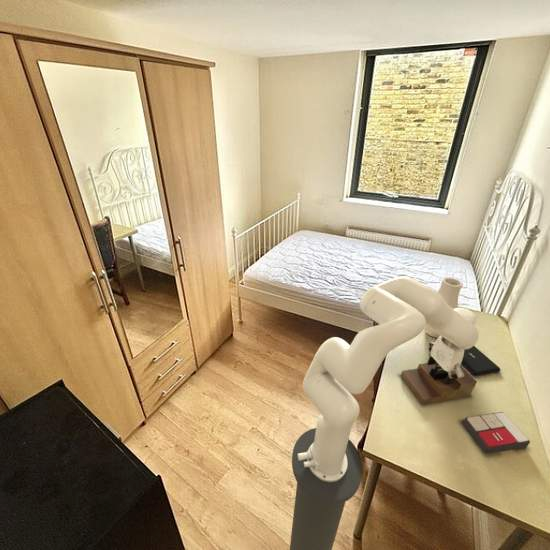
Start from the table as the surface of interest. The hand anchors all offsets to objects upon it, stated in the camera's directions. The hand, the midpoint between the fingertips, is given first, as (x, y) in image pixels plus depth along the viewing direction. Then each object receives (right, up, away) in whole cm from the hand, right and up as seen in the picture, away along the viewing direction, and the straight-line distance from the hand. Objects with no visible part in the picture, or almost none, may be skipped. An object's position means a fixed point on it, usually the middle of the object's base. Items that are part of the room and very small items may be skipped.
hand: (439, 373), depth 113 cm
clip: (0, -1, +1) cm, 2 cm away
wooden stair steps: (0, -6, +3) cm, 7 cm away
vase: (+15, +9, +31) cm, 36 cm away
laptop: (+23, +1, +17) cm, 29 cm away
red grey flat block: (+10, -16, -14) cm, 24 cm away
